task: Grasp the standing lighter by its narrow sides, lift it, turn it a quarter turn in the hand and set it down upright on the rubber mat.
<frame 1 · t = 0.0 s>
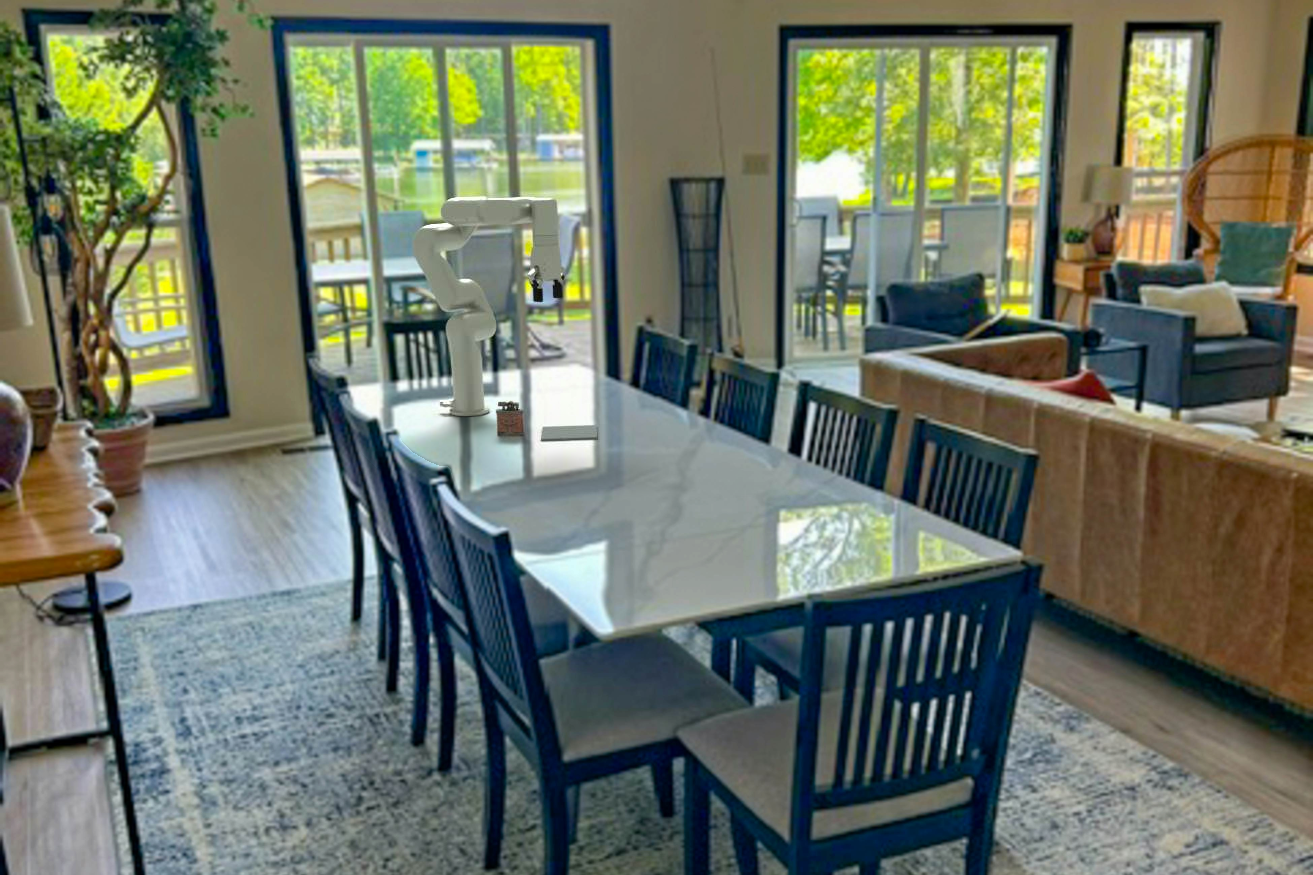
hand: (548, 300, 333), 37 cm above the table, tool pointing down, fingers open, 9 cm apart
lighter: (510, 435, 329), on the table
mat: (569, 433, 329), on the table
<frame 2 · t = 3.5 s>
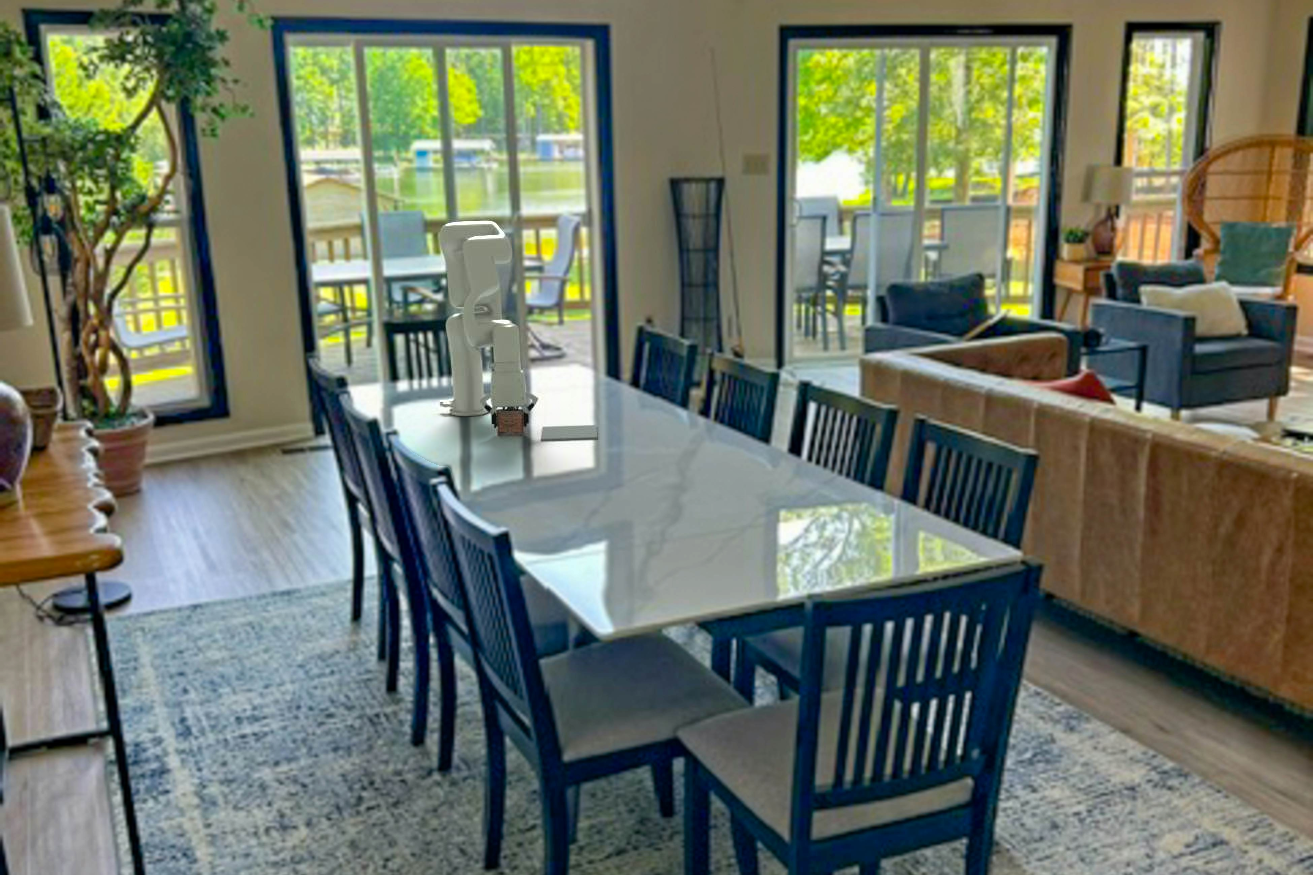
hand: (510, 426, 328), 3 cm above the table, tool pointing down, fingers closed on lighter, 8 cm apart
lighter: (510, 435, 329), on the table, touching gripper
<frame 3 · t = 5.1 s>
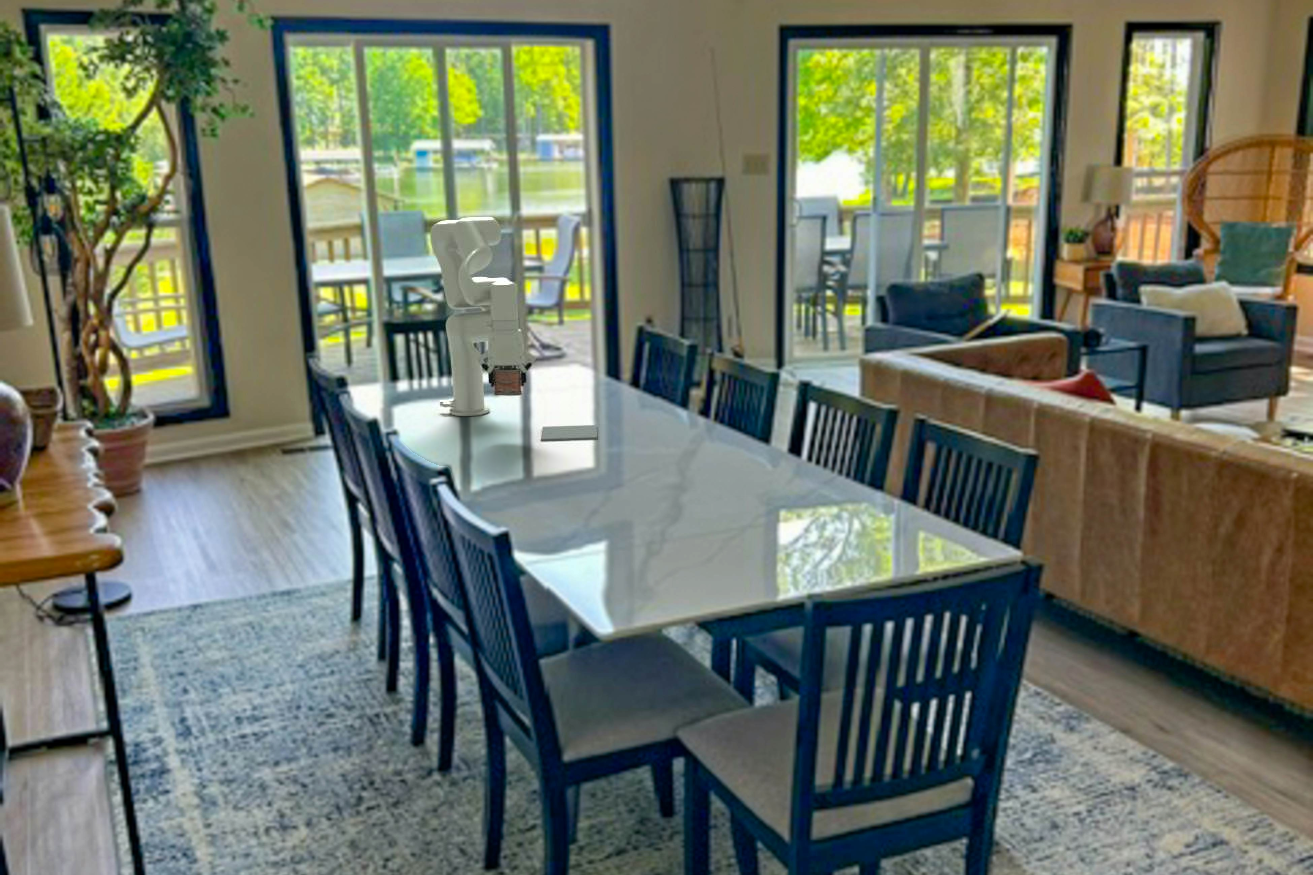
hand: (507, 385, 326), 15 cm above the table, tool pointing down, fingers closed on lighter, 8 cm apart
lighter: (508, 395, 326), point 12 cm above the table, touching gripper
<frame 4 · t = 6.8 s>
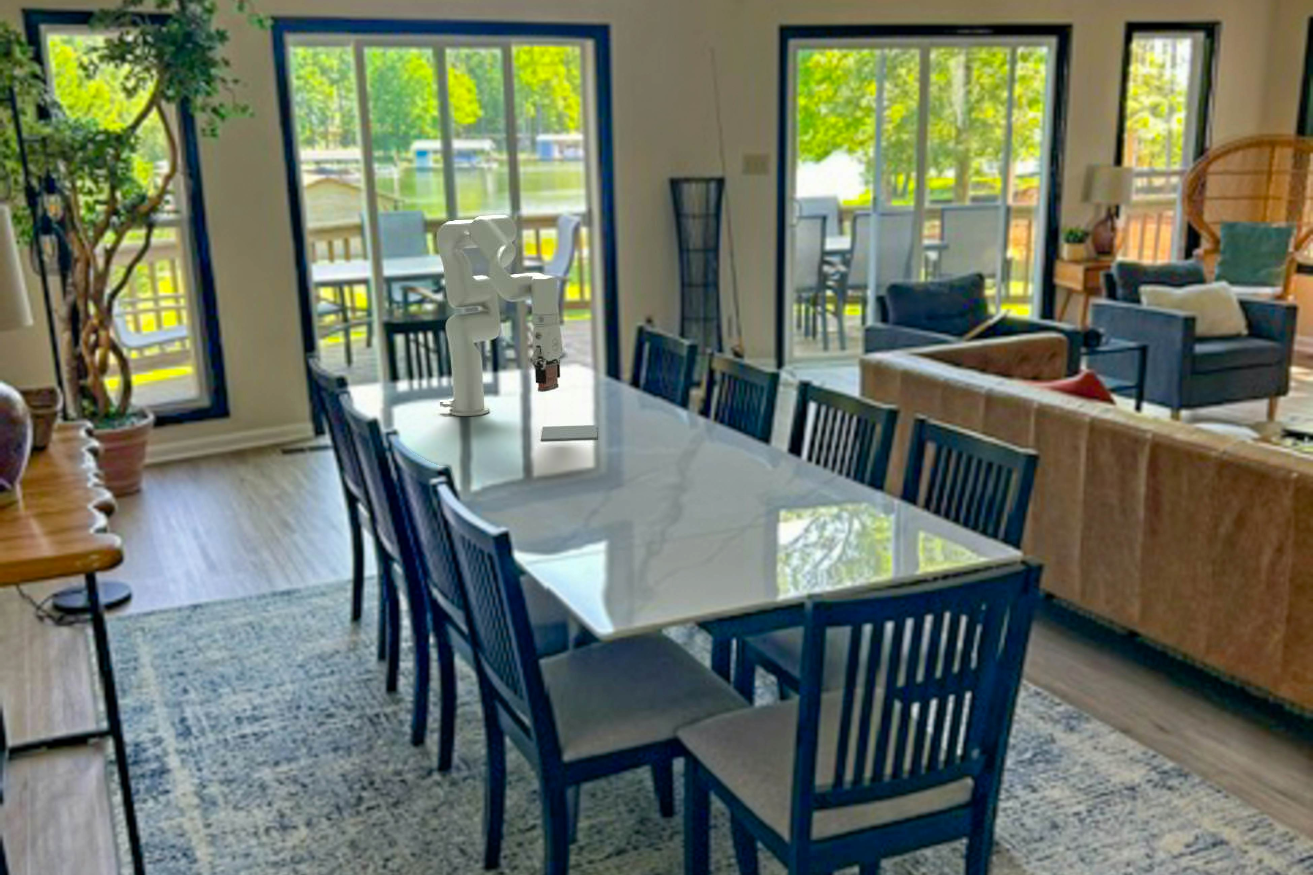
hand: (548, 380, 325), 16 cm above the table, tool pointing down, fingers closed on lighter, 8 cm apart
lighter: (548, 389, 325), point 13 cm above the table, touching gripper
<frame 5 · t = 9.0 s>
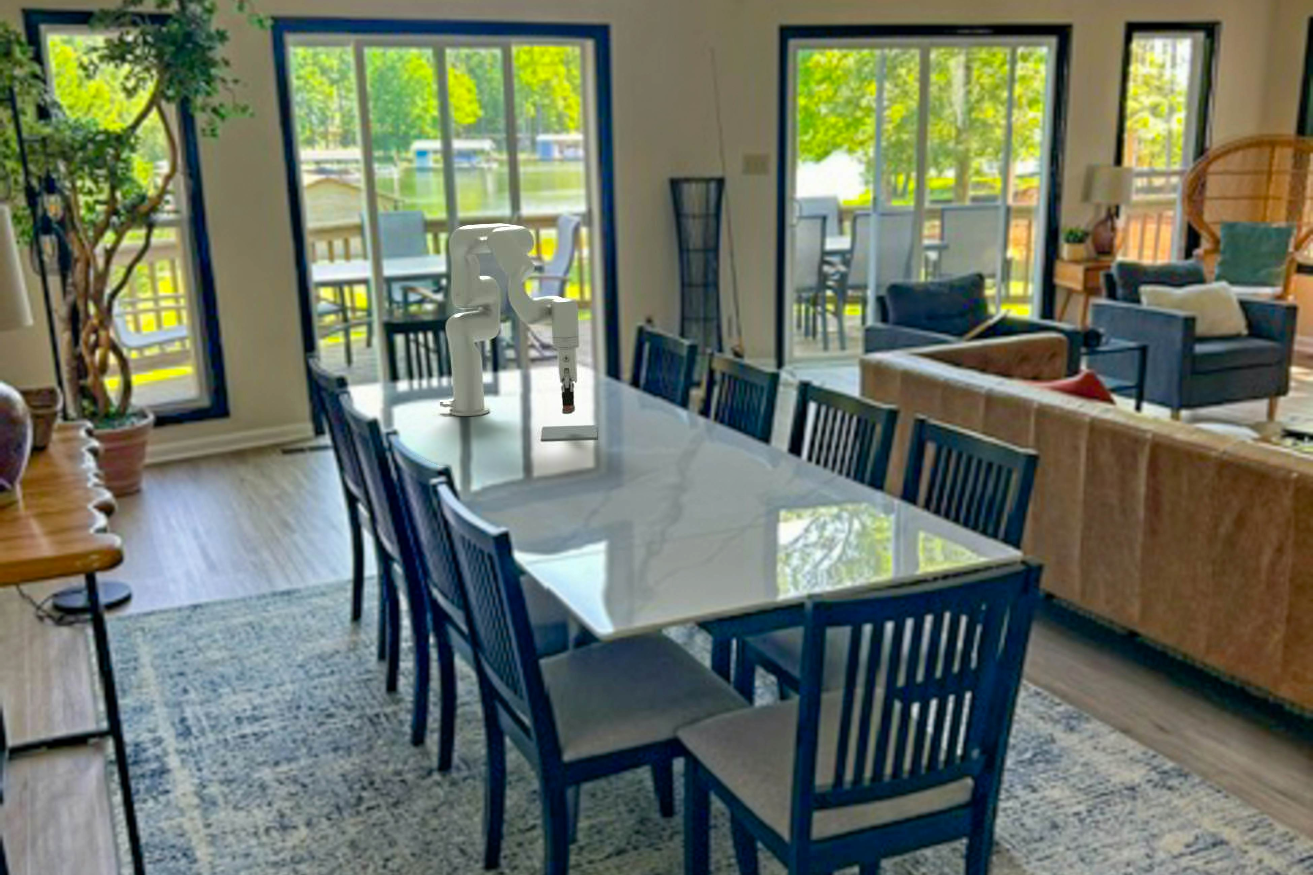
hand: (568, 402, 326), 9 cm above the table, tool pointing down, fingers closed on lighter, 8 cm apart
lighter: (568, 411, 327), point 7 cm above the table, touching gripper
when the fingers open (4 cm above the table, at t = 10.6 s): lighter stays where it is, resting on mat.
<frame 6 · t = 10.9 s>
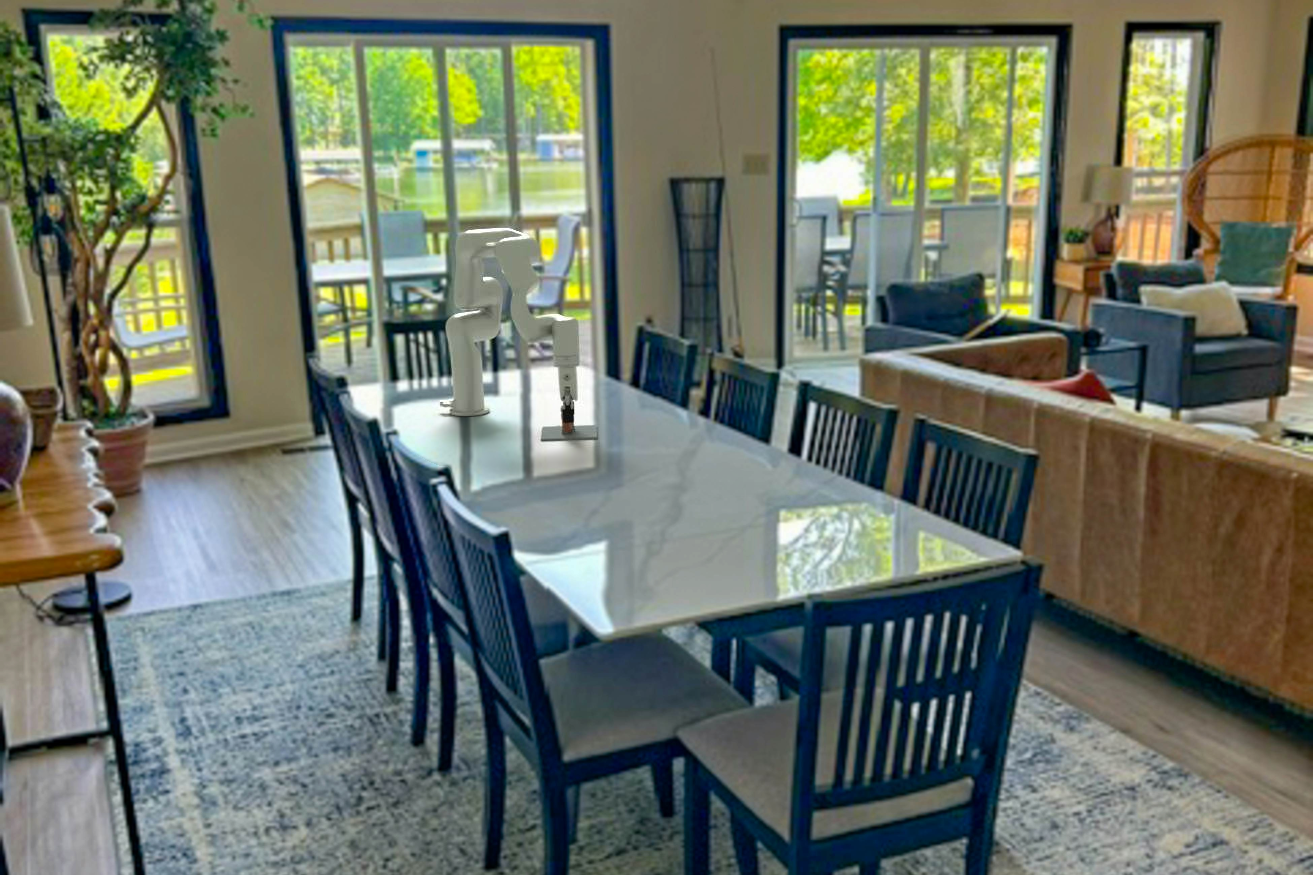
hand: (568, 418, 328), 4 cm above the table, tool pointing down, fingers open, 9 cm apart
lighter: (568, 432, 329), resting on mat
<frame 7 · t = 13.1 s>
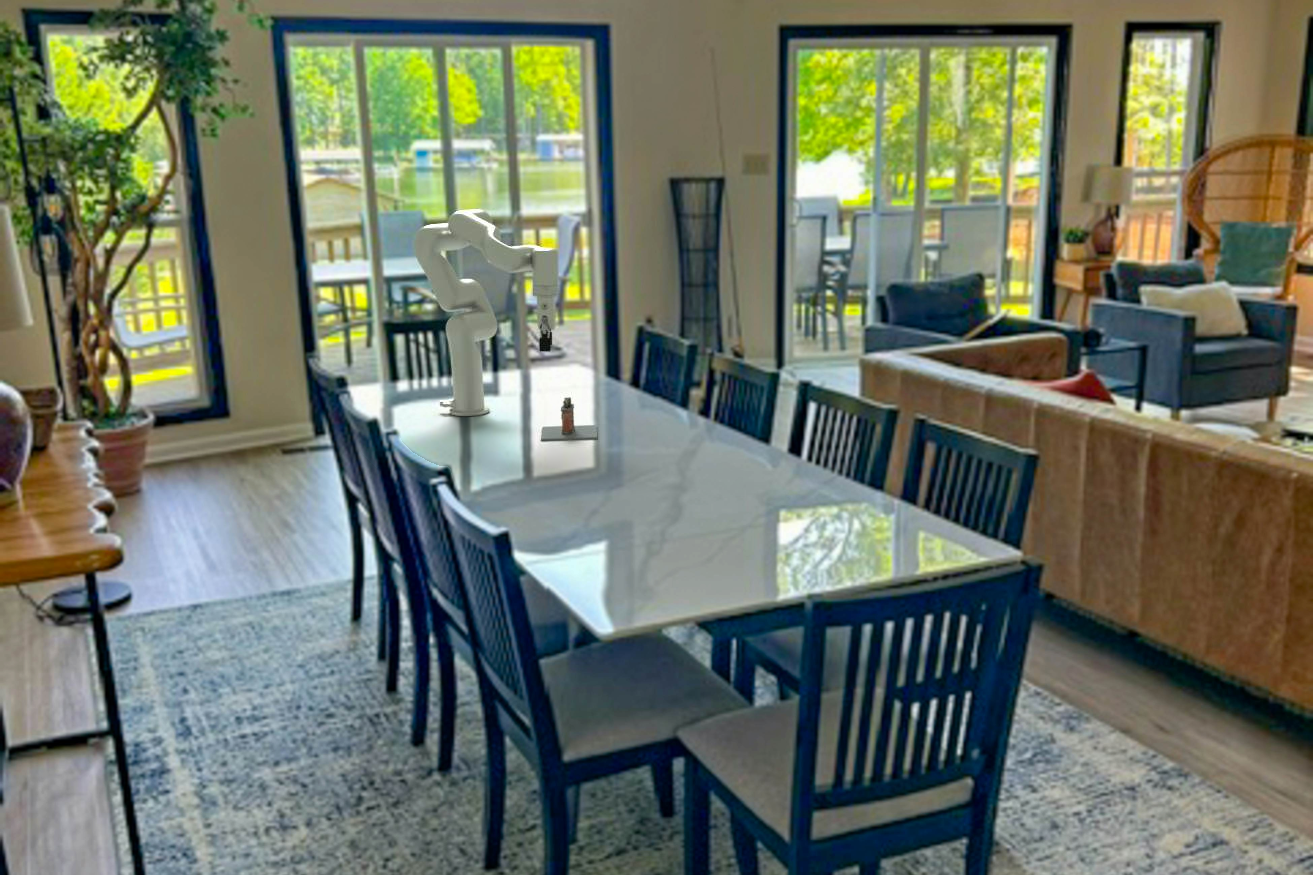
hand: (545, 348, 336), 23 cm above the table, tool pointing down, fingers open, 9 cm apart
nothing on the table moved.
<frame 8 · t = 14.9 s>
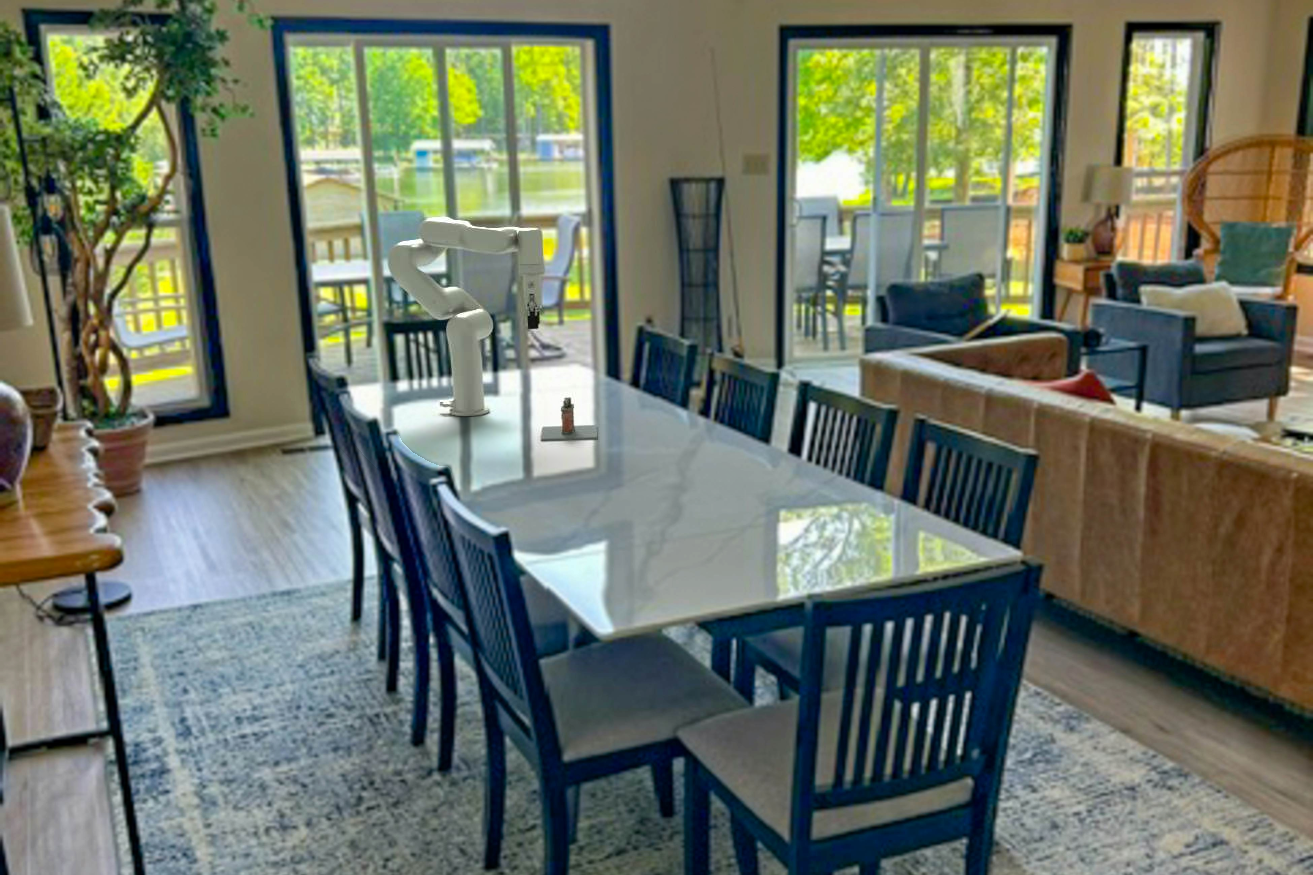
hand: (533, 326, 344), 28 cm above the table, tool pointing down, fingers open, 9 cm apart
nothing on the table moved.
at the end: lighter inside the target area on the mat (0.4 cm from its centre), point 0.4 cm above the mat's base; lighter tilted 0°; the gripper is holding nothing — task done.
